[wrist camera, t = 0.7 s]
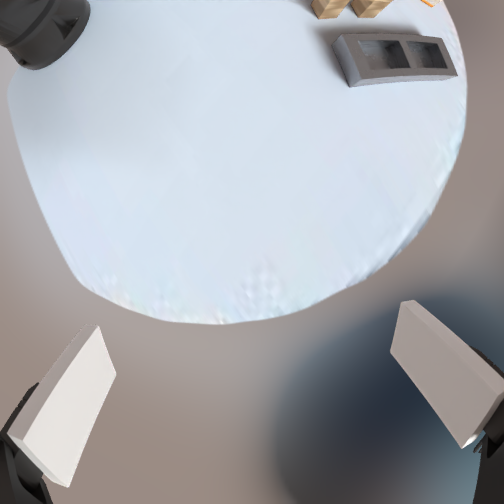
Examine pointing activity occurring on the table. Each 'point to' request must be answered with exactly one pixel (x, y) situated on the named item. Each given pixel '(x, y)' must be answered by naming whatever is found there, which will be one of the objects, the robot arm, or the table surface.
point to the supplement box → (431, 2)
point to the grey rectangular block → (392, 58)
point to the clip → (364, 4)
